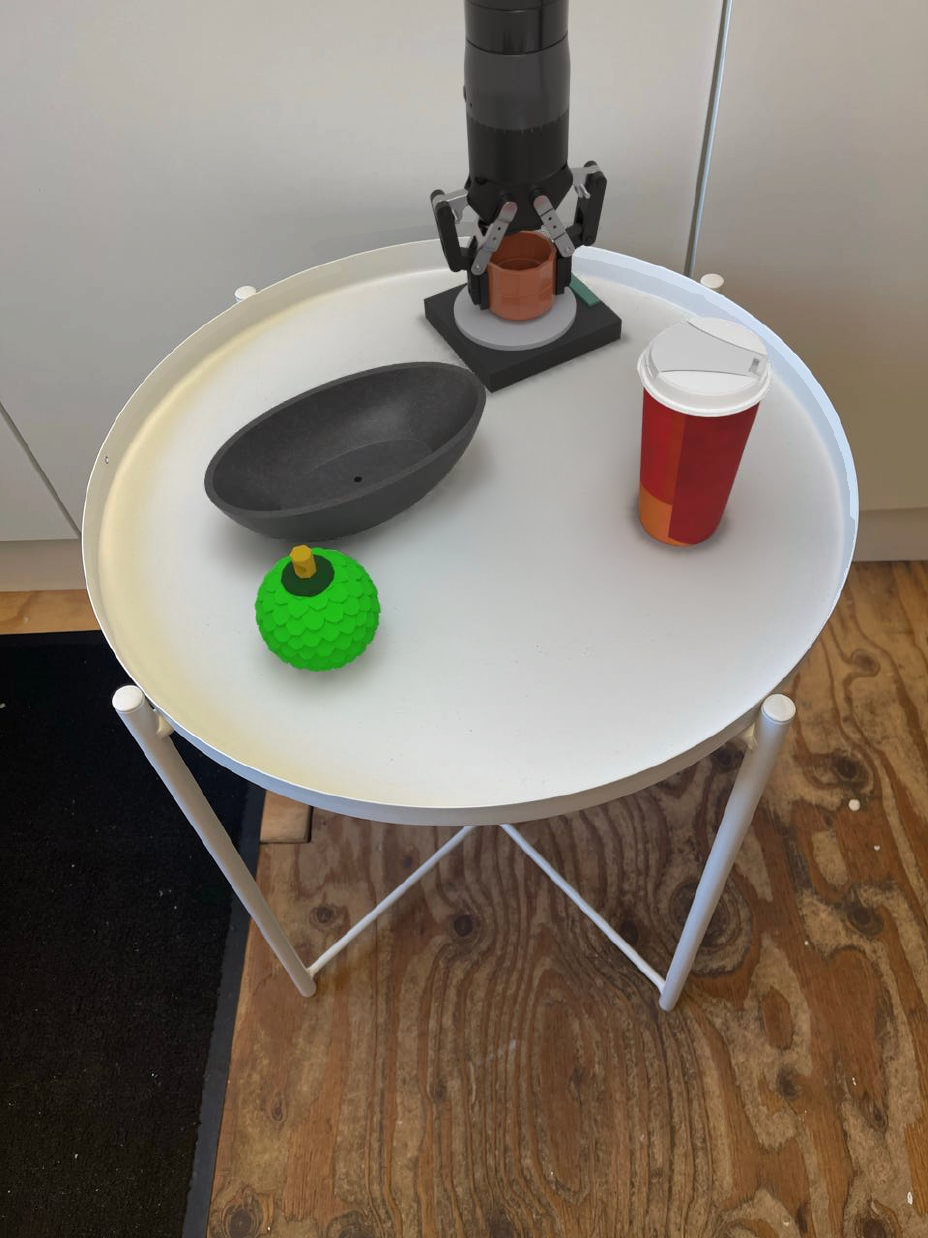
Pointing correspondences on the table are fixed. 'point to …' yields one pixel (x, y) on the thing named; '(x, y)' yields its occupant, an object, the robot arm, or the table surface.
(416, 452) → the bowl
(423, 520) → the table surface
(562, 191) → the robot arm
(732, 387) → the coffee cup
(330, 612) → the ornament
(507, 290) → the small bowl
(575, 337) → the scale
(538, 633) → the table surface
